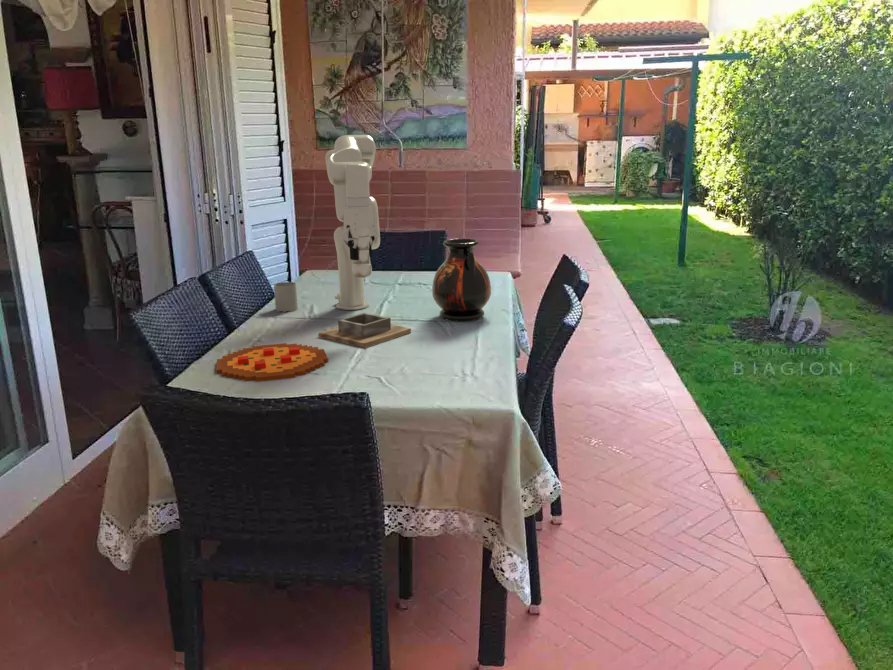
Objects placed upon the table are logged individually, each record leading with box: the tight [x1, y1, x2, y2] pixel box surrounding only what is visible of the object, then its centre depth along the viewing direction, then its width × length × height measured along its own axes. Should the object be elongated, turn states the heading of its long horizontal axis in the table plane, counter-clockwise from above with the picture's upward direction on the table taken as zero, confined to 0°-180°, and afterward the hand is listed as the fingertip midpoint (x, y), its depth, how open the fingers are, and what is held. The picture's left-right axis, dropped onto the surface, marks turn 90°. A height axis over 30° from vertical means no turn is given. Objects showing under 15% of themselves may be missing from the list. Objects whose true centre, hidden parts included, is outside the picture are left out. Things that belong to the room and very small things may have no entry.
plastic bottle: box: [351, 228, 373, 279], centre depth 238 cm, size 6×7×20 cm
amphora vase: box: [431, 238, 492, 323], centre depth 264 cm, size 22×22×28 cm
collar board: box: [317, 312, 412, 349], centre depth 246 cm, size 22×22×6 cm
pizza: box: [216, 342, 329, 382], centre depth 219 cm, size 32×32×3 cm
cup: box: [273, 281, 299, 313], centre depth 282 cm, size 8×8×10 cm
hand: (361, 257), depth 239 cm, fingers closed on plastic bottle, 5 cm apart
